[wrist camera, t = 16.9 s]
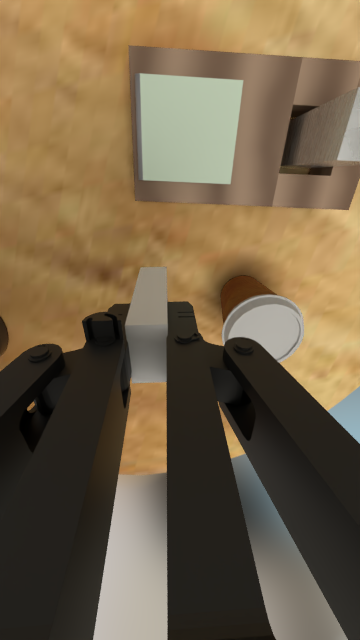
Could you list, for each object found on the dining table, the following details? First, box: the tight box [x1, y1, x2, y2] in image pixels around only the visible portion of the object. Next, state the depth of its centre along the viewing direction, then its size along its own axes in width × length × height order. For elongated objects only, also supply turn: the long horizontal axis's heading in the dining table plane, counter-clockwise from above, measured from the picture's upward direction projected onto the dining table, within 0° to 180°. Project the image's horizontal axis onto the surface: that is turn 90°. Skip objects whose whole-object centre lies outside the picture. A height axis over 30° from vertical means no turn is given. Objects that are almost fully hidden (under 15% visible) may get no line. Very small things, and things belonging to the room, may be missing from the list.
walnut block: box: [129, 46, 360, 210], centre depth 27 cm, size 24×12×5 cm, turn 88°
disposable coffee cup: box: [221, 276, 304, 363], centre depth 33 cm, size 10×10×12 cm
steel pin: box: [280, 87, 360, 169], centre depth 23 cm, size 4×4×14 cm
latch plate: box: [135, 73, 243, 184], centre depth 24 cm, size 10×8×1 cm
